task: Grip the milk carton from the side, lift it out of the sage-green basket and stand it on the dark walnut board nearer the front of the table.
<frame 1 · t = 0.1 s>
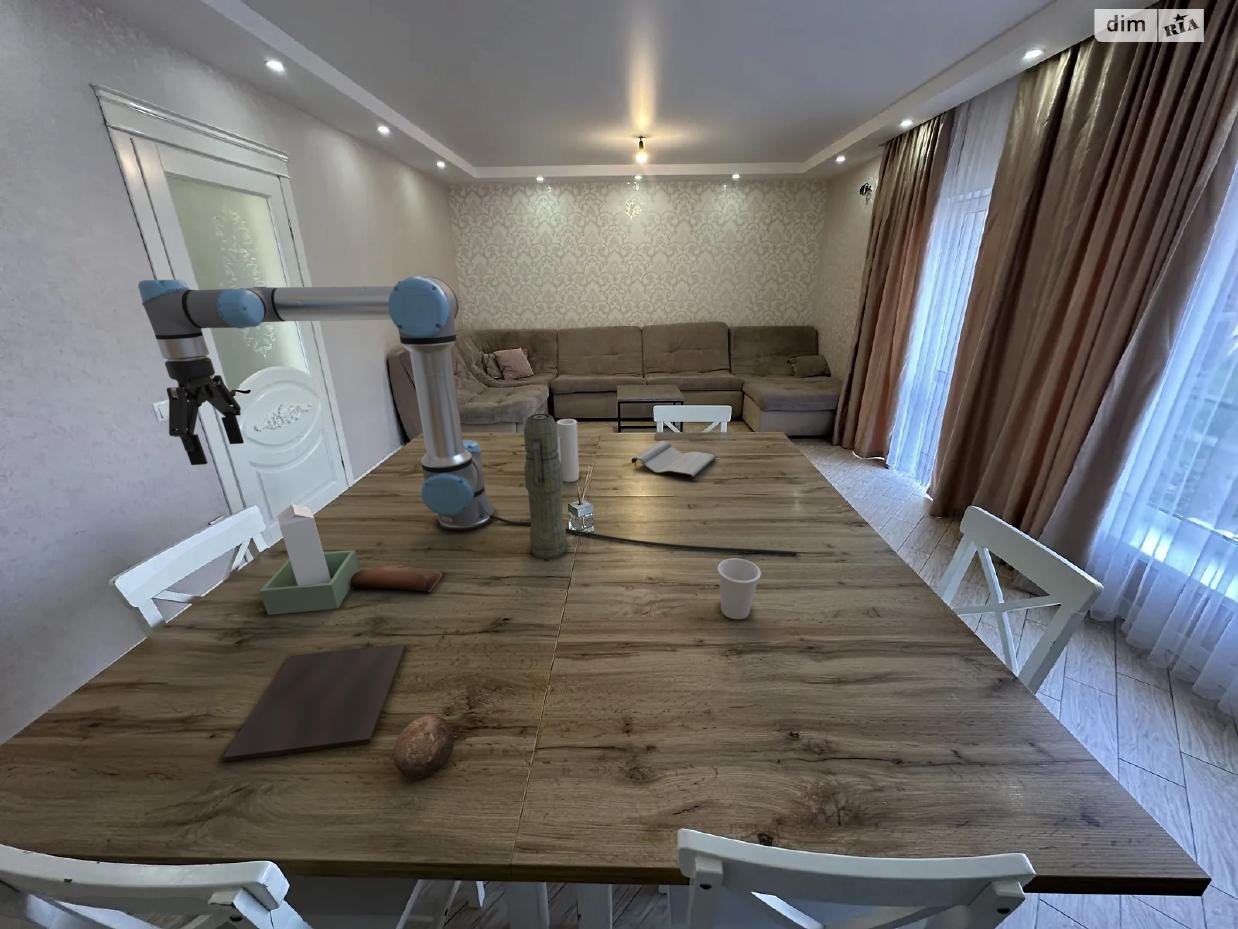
hand: (219, 453, 109), 28 cm above the table, tool pointing down, fingers open, 13 cm apart
brown potato: (427, 761, 70), on the table
basket: (317, 592, 107), on the table
board: (327, 697, 80), on the table
mat: (674, 465, 176), on the table
milk: (317, 592, 107), resting in basket
vase: (562, 478, 165), on the table
dixie cup: (734, 611, 100), on the table
thermos: (549, 549, 123), on the table
sunglasses case: (399, 583, 110), on the table
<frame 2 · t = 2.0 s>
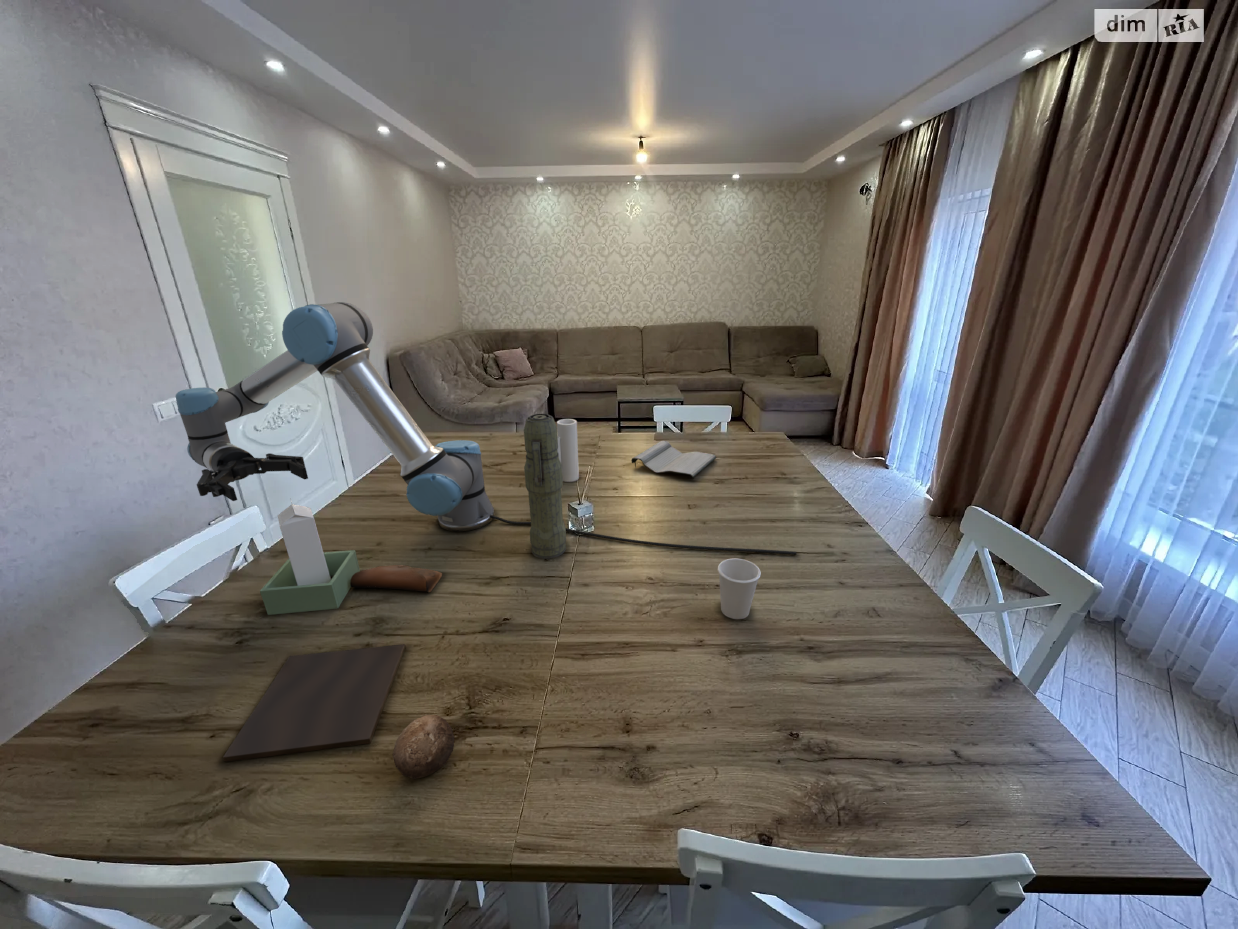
hand: (271, 483, 102), 24 cm above the table, tool horizontal, fingers open, 13 cm apart
nothing on the table moved.
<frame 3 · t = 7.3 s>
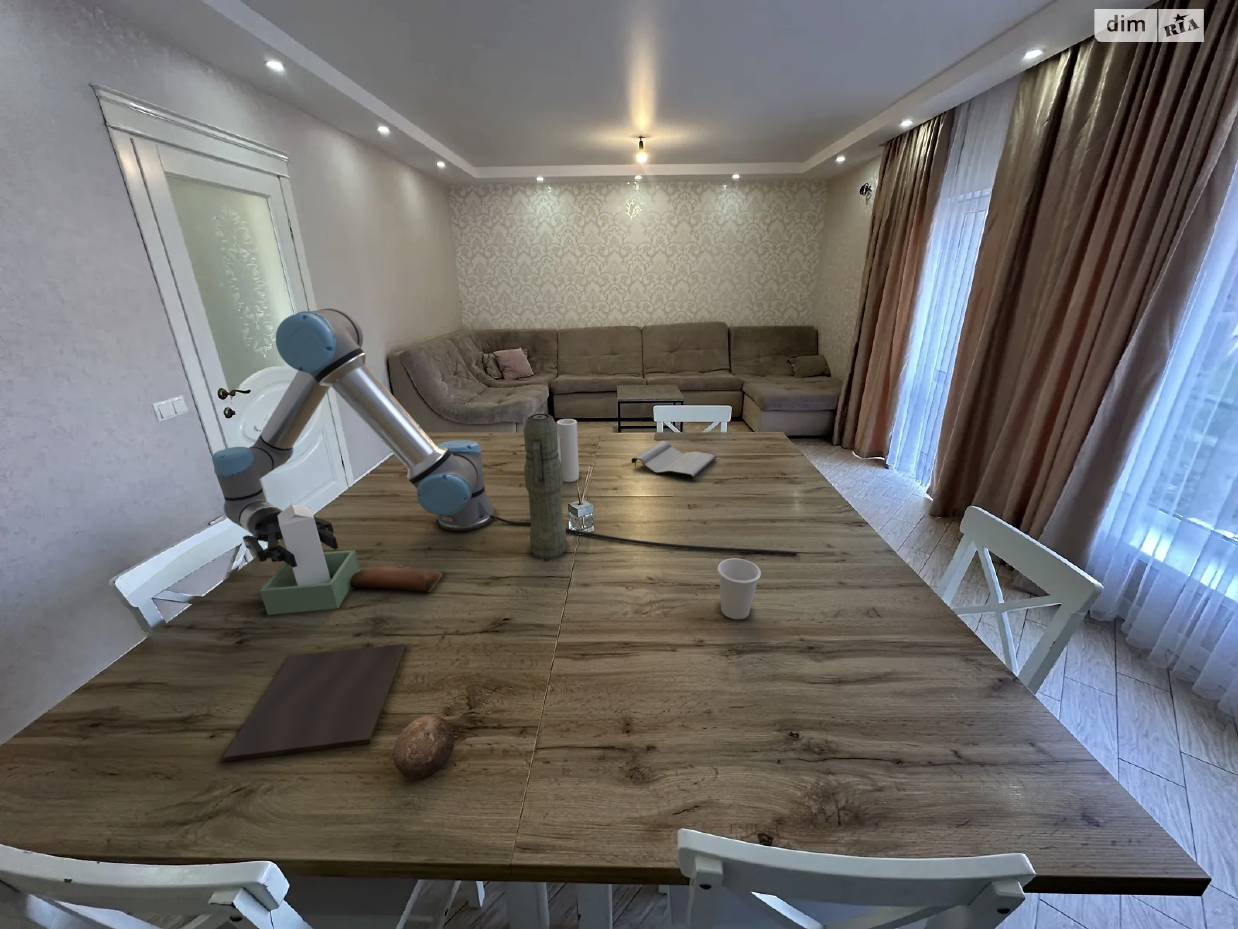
hand: (314, 552, 100), 12 cm above the table, tool horizontal, fingers closed on milk, 7 cm apart
milk: (317, 592, 107), resting in basket, touching gripper
everything else where it was.
when the fingers open (13 cm above the table, at t = 17.3 s): milk stays where it is, resting on board.
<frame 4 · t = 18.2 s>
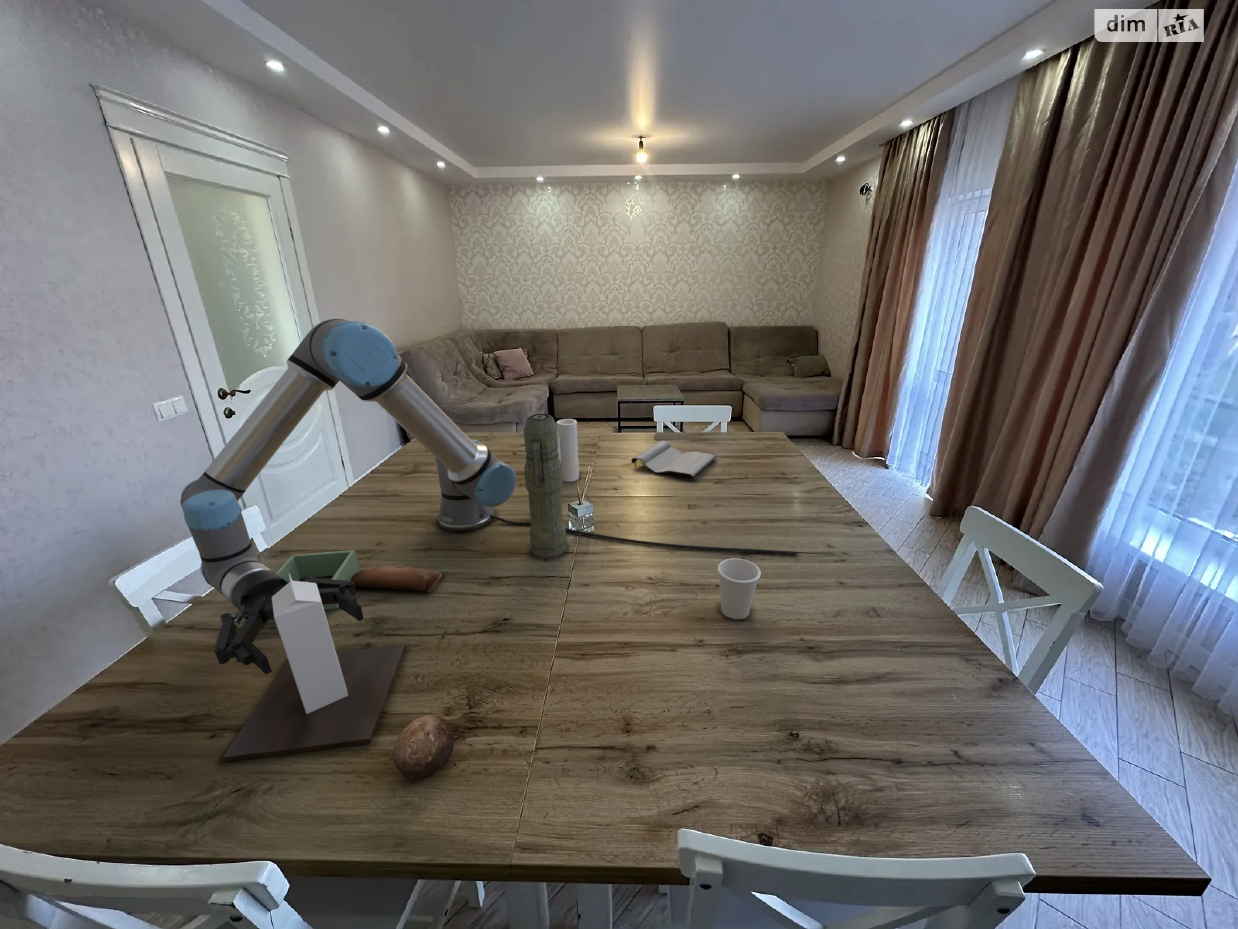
hand: (316, 638, 74), 14 cm above the table, tool horizontal, fingers open, 13 cm apart
milk: (325, 694, 80), point 1 cm above the table, touching board
everything else where it was.
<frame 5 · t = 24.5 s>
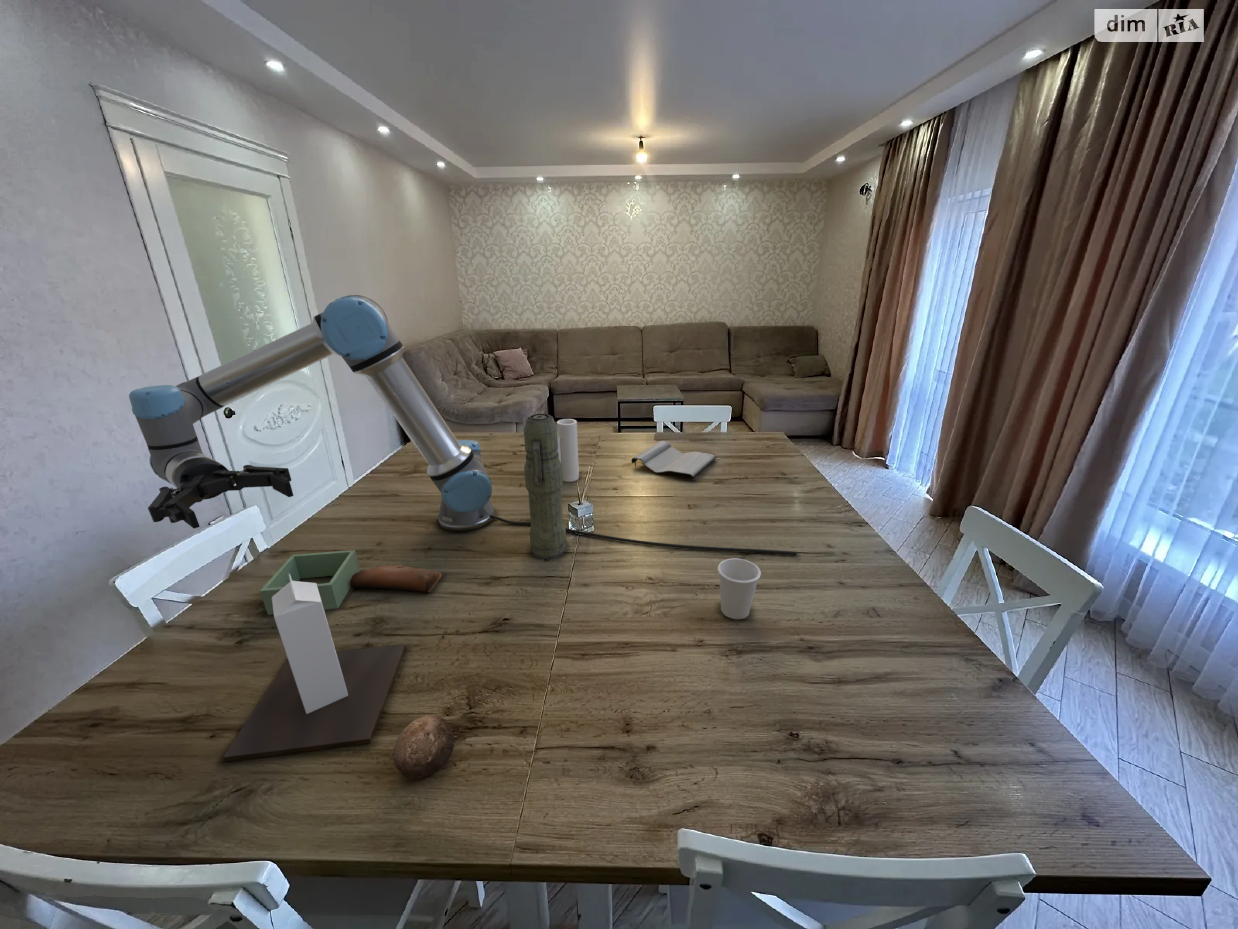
hand: (244, 504, 80), 30 cm above the table, tool horizontal, fingers open, 13 cm apart
nothing on the table moved.
at the end: milk inside the target area on the board (0.1 cm from its centre), point 0.8 cm above the board's base; milk tilted 0°; the gripper is holding nothing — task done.
